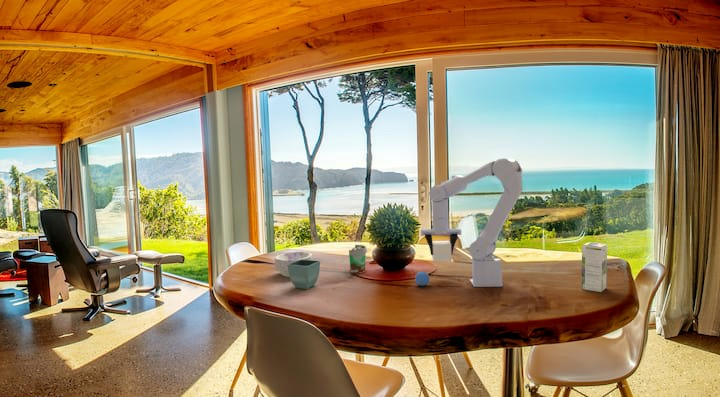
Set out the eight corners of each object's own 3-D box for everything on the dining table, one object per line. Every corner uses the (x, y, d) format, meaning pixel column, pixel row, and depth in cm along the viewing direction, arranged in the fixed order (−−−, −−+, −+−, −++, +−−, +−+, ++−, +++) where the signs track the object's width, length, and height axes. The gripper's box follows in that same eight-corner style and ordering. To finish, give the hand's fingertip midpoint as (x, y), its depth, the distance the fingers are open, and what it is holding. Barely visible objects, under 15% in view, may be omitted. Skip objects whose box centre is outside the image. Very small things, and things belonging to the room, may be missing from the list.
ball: (429, 283, 134) (428, 269, 134) (430, 287, 129) (429, 273, 129) (415, 283, 135) (414, 269, 135) (415, 287, 130) (415, 273, 130)
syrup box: (586, 285, 125) (586, 241, 124) (607, 288, 120) (607, 243, 120) (581, 289, 121) (581, 244, 120) (602, 292, 116) (602, 246, 116)
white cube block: (449, 257, 142) (449, 240, 142) (451, 261, 136) (451, 244, 136) (432, 257, 143) (431, 241, 143) (433, 262, 137) (433, 244, 136)
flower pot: (322, 284, 139) (320, 260, 138) (309, 291, 131) (307, 266, 130) (301, 282, 142) (300, 259, 142) (288, 289, 134) (286, 264, 134)
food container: (365, 275, 149) (363, 250, 148) (349, 275, 150) (348, 250, 149) (370, 267, 161) (369, 244, 160) (356, 267, 162) (355, 244, 161)
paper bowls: (276, 281, 146) (274, 260, 146) (275, 271, 161) (274, 253, 160) (315, 277, 150) (314, 257, 149) (311, 268, 164) (310, 250, 164)
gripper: (420, 219, 136) (422, 256, 137) (462, 218, 134) (463, 256, 135) (420, 217, 143) (421, 252, 144) (459, 216, 141) (460, 252, 142)
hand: (441, 254), depth 140 cm, fingers closed on white cube block, 6 cm apart
